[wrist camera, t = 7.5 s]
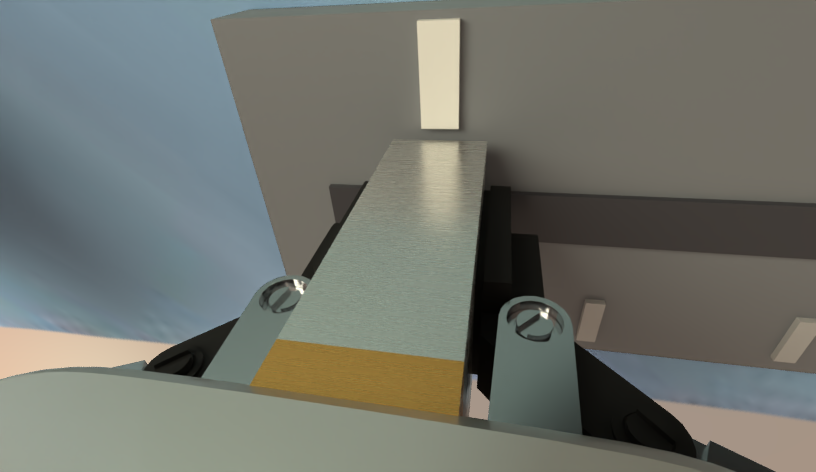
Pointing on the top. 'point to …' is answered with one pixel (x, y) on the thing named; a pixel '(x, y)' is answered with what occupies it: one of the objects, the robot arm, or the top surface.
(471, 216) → the fader tab
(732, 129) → the console board
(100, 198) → the top surface
